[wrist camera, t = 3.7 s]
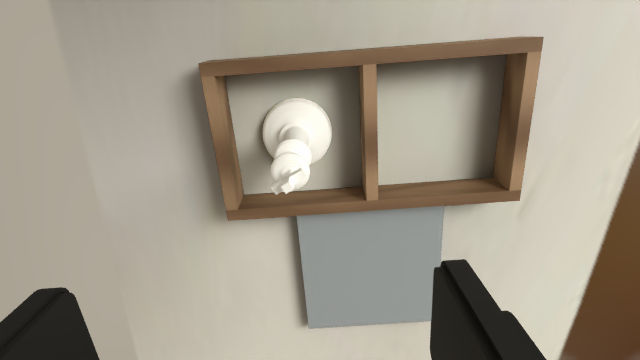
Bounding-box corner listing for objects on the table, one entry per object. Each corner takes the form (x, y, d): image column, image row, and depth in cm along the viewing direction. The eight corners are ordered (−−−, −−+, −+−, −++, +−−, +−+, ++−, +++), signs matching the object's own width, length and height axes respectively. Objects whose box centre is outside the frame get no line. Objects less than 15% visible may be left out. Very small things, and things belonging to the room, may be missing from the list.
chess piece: (248, 121, 26) (210, 171, 16) (308, 83, 25) (303, 114, 15) (287, 177, 27) (273, 251, 18) (344, 143, 26) (360, 203, 17)
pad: (297, 209, 28) (296, 215, 27) (439, 199, 28) (444, 204, 27) (308, 320, 32) (308, 328, 31) (433, 312, 32) (437, 320, 31)
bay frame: (209, 60, 24) (198, 63, 22) (521, 36, 24) (543, 36, 21) (235, 205, 28) (227, 220, 26) (502, 186, 28) (519, 200, 25)
